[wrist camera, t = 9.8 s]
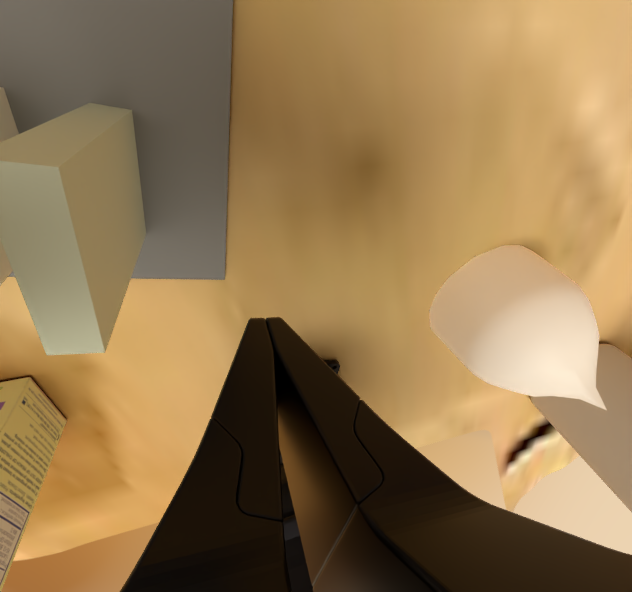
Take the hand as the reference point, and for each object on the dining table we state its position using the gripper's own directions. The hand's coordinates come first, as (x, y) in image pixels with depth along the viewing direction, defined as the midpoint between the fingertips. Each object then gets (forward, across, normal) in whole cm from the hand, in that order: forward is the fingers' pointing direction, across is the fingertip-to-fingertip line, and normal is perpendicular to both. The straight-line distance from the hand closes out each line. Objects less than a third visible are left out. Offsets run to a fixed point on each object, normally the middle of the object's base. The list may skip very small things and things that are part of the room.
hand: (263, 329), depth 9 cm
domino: (+11, +6, 0) cm, 13 cm away
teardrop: (+12, -22, +8) cm, 27 cm away
